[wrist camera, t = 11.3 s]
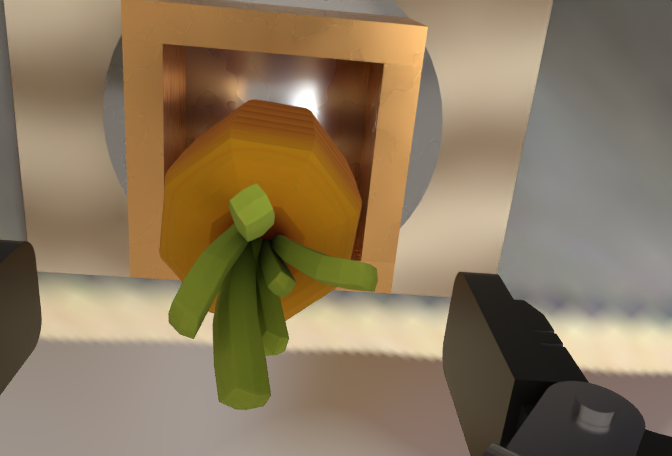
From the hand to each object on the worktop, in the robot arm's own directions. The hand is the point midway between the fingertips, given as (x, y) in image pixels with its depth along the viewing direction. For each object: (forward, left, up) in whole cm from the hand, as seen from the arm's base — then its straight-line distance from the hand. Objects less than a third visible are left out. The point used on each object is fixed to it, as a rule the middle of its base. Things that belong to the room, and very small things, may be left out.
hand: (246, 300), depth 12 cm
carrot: (0, 0, -14) cm, 14 cm away
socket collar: (0, 0, -14) cm, 14 cm away
